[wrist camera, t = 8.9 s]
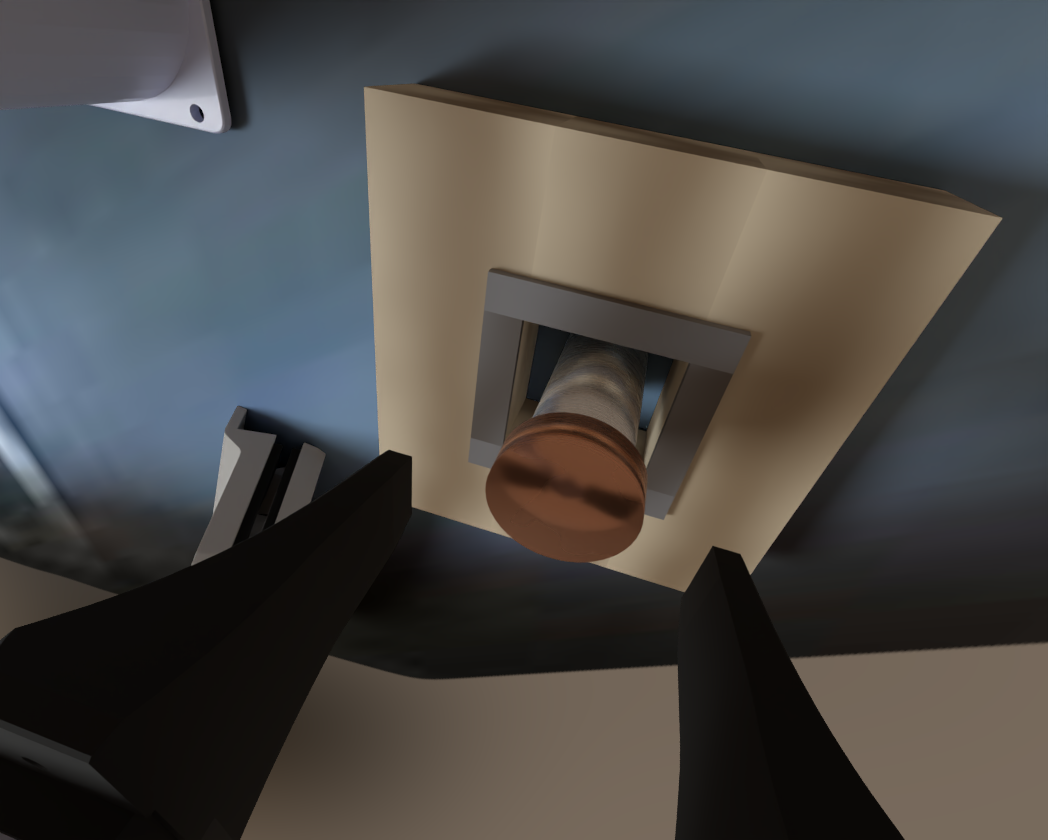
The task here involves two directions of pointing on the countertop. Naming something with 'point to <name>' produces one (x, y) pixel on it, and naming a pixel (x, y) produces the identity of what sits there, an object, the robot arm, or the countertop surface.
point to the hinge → (256, 486)
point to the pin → (577, 458)
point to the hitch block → (641, 303)
